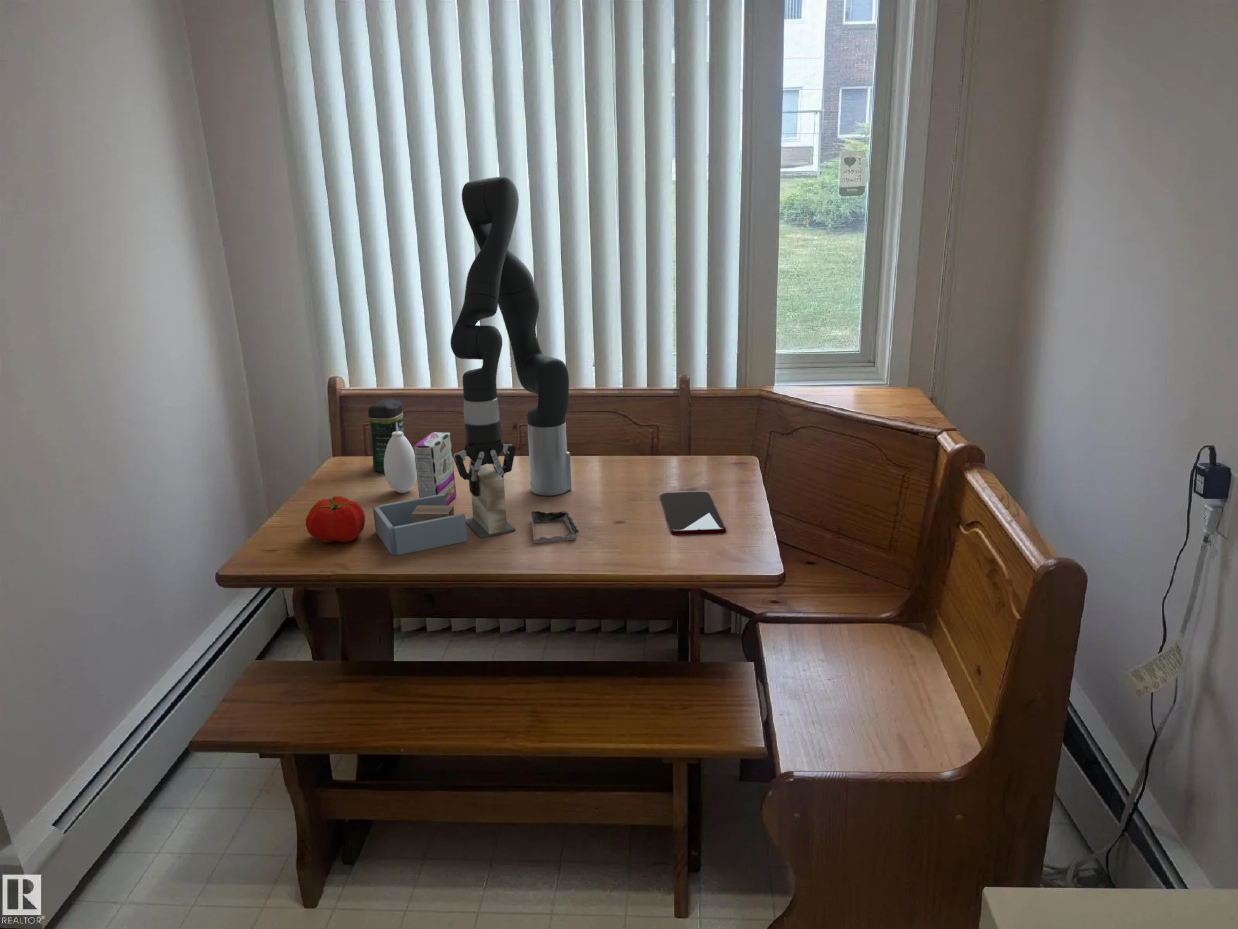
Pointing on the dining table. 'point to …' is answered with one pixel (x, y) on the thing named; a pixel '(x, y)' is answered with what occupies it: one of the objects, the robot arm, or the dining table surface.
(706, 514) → the smartphone
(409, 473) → the sauce bottle
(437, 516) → the offcut block upper
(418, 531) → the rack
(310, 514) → the tomato
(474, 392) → the robot arm
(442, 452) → the candy bar box
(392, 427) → the coffee jar
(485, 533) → the mat
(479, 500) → the beige hardcover book
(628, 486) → the dining table surface
